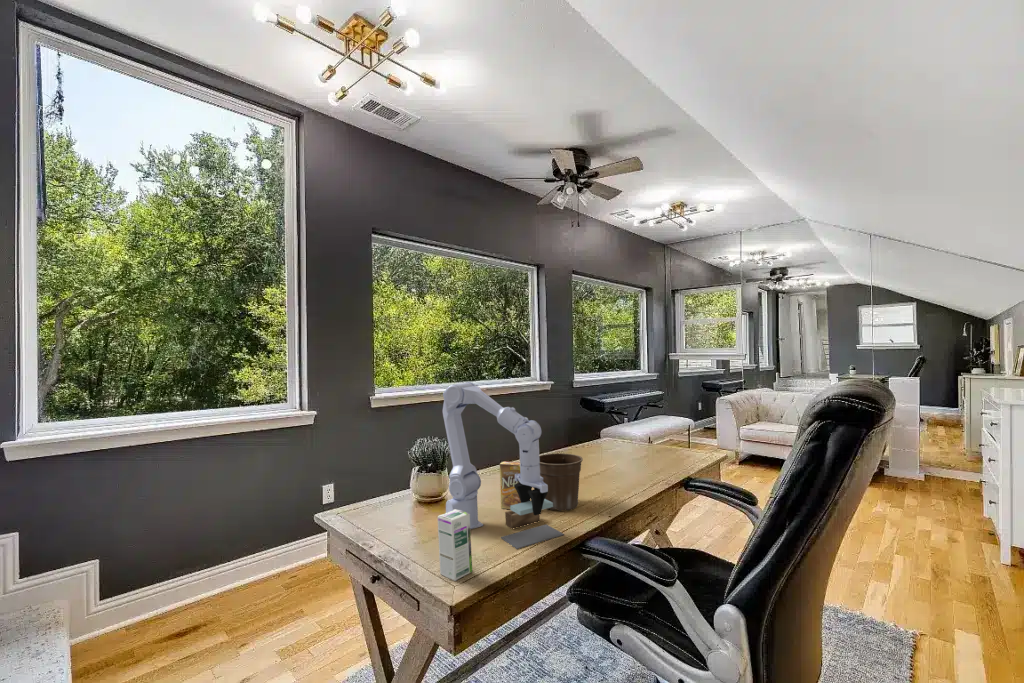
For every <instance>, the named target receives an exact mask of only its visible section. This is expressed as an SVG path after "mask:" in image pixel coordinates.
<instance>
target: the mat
mask: <svg viewBox="0 0 1024 683" xmlns="http://www.w3.org/2000/svg"><path fill="white" fill-rule="evenodd" d="M562 536H563V537H564V536H565V533H563V532H562V531H559V530H557V529H555V528H553V527H552V526H551V525H548V524H542V525H538V526H534V527H530V528H528V529H524V530H521V531H517V532H514V533H510V534H507V535H503V536H501V537H500V539H501V540H503V542H506V544H508V543H509V545H510V546H511V545H512V546H511V547H513V548H514V547H515V548H514V549H516V550H520V549H523V548H526V547H525V546H527V547H530V546H533V545H536V544H535V543H537V544H539V543H538V542H540V543H543V542H546V541H549V539H550V540H553V539H555V538H556V539H557V538H558V537H562ZM552 538H553V539H552ZM545 540H546V541H545ZM542 541H543V542H542ZM532 544H533V545H532ZM529 545H530V546H529ZM522 547H523V548H522ZM519 548H520V549H519Z"/></svg>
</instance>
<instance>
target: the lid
mask: <svg viewBox="0 0 1024 683" xmlns="http://www.w3.org/2000/svg"><path fill="white" fill-rule="evenodd" d="M551 507H553V503H552V502H550V501H548V500H546V499H544V502H543V506H542V510H548V509H547V508H551ZM511 510H512V511H513V512H515V513H517V514H519V515H524V514H528V513H532V512H533V508H532V502H531V500H530V501H527V502H523V503H519V504H515V505H511V506H510V509H509V511H511Z"/></svg>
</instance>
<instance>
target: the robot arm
mask: <svg viewBox="0 0 1024 683" xmlns="http://www.w3.org/2000/svg"><path fill="white" fill-rule="evenodd" d="M442 396H443V405H442V417H443V421H444V427H445V432H446V437H447V443H448V447H449V453H450V459H451V462H452V463H451V464H452V468H451V471H450V473H449V475H448V476H449V477H448V478H449V484H448V491H449V494H450V495H451V496H452V498H451V499H448V500H447V501H446V503H445V513H448V512H450V511H453V510H454V509H456V510H461V511H464V512H467V513H469V514H470V530H473V529H476V528H480V527H483V526H484V524H483V523H482V522H481V521H480V520H479V510H478V508H479V506H478V491H479V490H480V488H481V485H482V480H481V476H480V474H478V472H477V468H476V466H475V465H473V464H472V462H471V460H470V454H469V449H468V445H467V444H468V443H467V438H466V434H465V428H464V425H463V424H464V423H463V419H462V413H463V412H464V410H465V408H466V407H467V406H468V405H469V404H470V405H471V404H472V405H473V404H474V405H475V404H476V405H477V406H479V407H480V408H481V409H483V410H485V411H486V412H488V413H490V414H491V415H493V416H494V417H496V421H497V423H498V424H499V425H500V426H502V427H503V428H504V429H506V430H508V431H509V432H510V433H511V434H513V435H514V437H515V440H516V441H517V442H518V447H519V448H518V449H519V462H520V473H519V474H515V481H518V482H519V483H518V484H515V485H514V487H515V489H516V491H517V493H518V495H519V498H520V501H521V503H523V502H527V501H531V502H532V508H533V514H534V515H539V514H540V515H541V514H542V506H543V502H544V499H545V497H546V495H547V493H548V485H547V484H545V483H544V482H543V481H542V480H543V477H541V476H540V458H539V456H540V442H539V441H540V440H539V439H540V438H541V435H542V433H543V432H542V428H541V425H540V423H539V422H537V421H536V420H534V419H533V420H532V419H531V420H529V418H528V417H526V416H523V415H522V414H520V413H519V412H518V411H517V410H516V408H515V407H514V406H512V407H510V406H505V407H503V406H502V405H501V404H499V403H498V402H497V401H496V400H494V399H493V398H492V397H490V396H489V395H488V394H486V393H485V392H484V391H483V390H482V389H481V387H480V386H478V385H476V384H474V383H473V382H471V381H467V382H463V383H456V384H455V383H454V384H453V383H452V384H450V385H449V386H447V387H446V389H445V390H444V391H443V393H442Z"/></svg>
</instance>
